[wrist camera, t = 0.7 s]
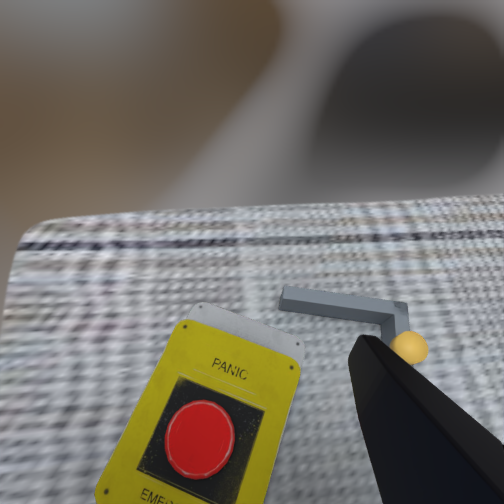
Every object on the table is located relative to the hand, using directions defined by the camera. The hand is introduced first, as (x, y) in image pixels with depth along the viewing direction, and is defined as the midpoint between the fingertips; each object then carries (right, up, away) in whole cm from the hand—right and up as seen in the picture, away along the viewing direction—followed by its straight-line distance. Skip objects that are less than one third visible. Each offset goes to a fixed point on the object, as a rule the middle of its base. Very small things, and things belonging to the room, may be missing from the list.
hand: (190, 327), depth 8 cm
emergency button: (-1, -10, +15) cm, 18 cm away
